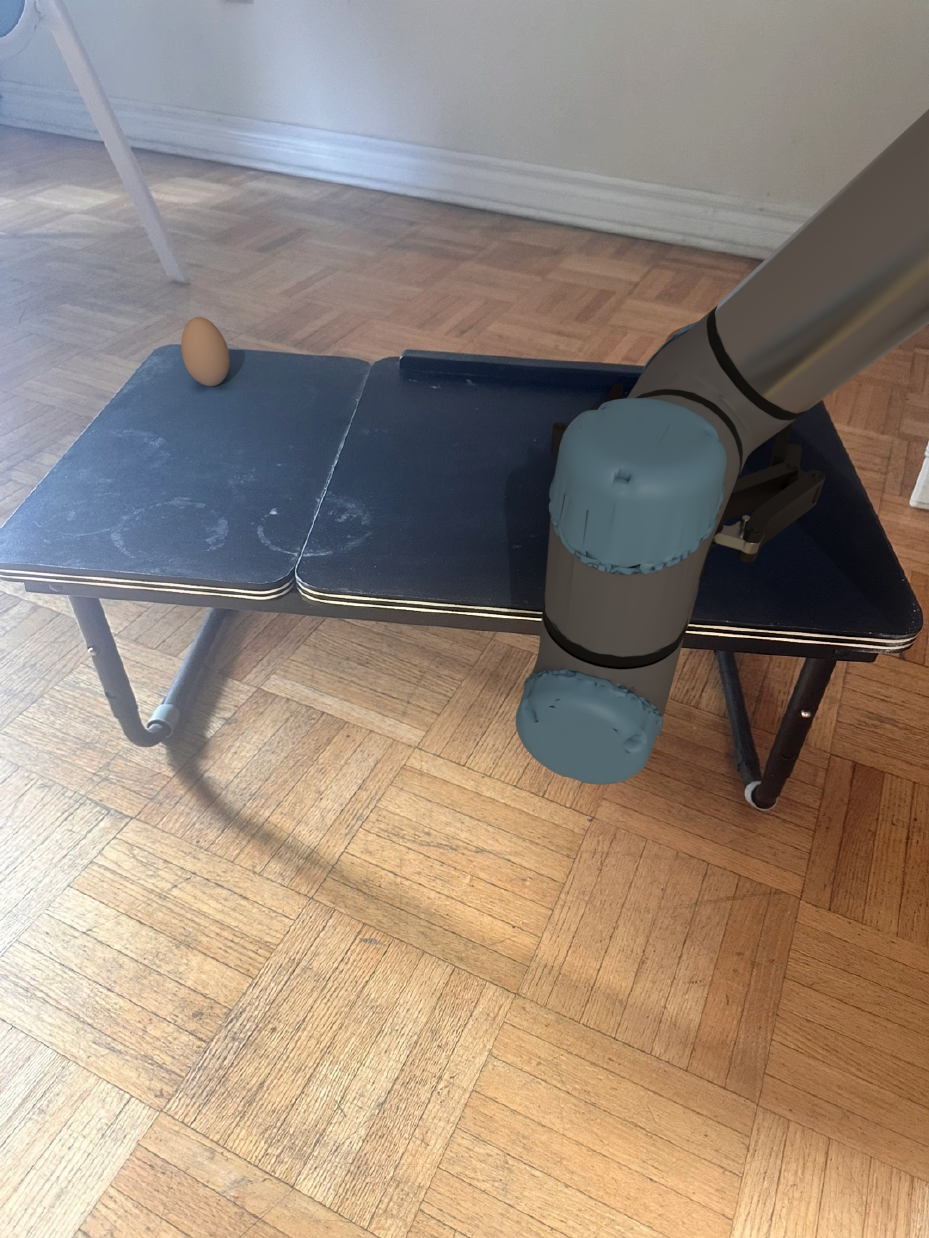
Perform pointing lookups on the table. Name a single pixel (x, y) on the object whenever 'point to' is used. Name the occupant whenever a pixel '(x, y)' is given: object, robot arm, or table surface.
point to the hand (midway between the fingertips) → (698, 413)
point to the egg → (205, 352)
